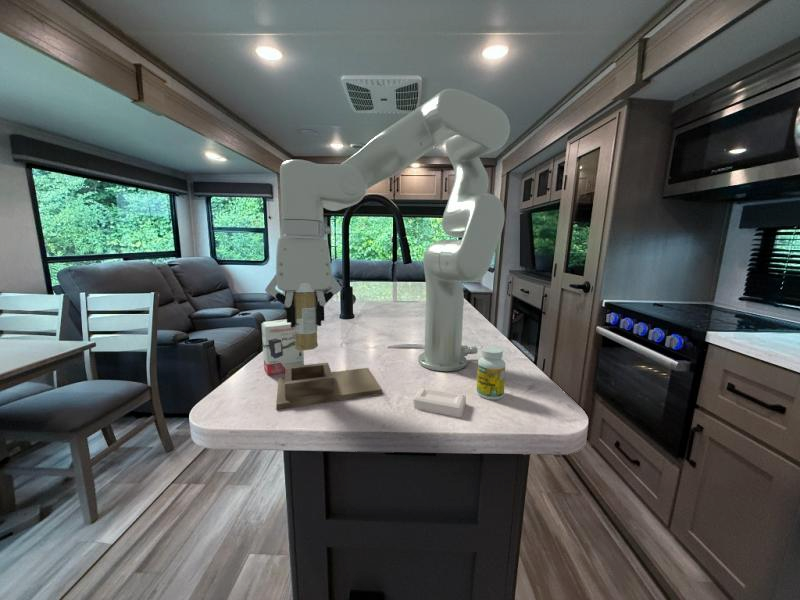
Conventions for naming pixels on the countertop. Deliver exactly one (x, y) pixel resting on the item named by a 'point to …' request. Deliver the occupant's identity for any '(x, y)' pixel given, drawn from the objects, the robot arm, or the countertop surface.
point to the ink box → (279, 347)
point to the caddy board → (323, 385)
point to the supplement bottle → (491, 374)
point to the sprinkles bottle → (305, 318)
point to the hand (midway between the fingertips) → (305, 324)
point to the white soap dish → (440, 402)
